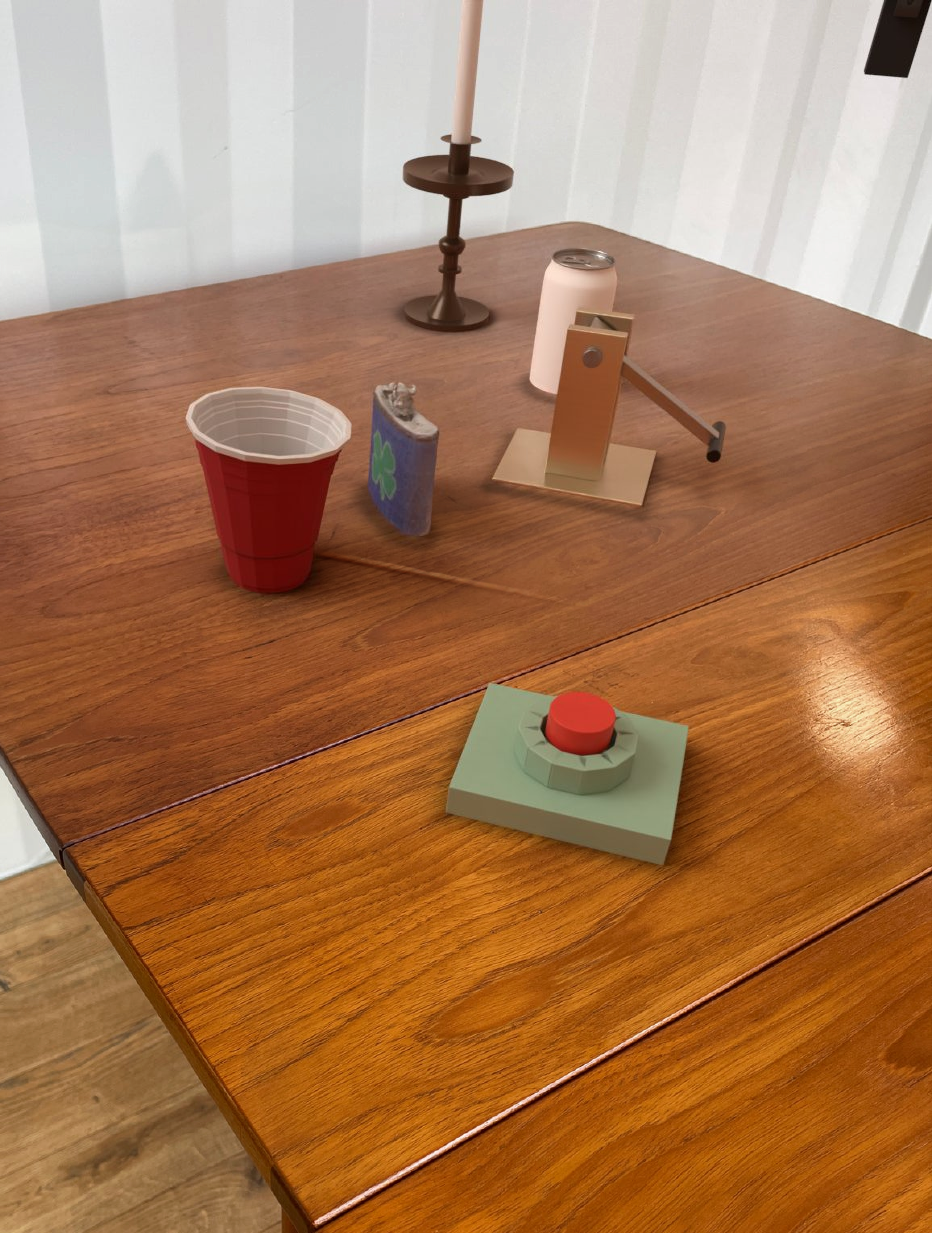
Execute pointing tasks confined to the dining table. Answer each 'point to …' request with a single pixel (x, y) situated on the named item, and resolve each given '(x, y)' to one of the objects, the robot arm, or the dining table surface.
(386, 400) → the flask
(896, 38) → the robot arm
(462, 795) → the button block
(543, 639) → the dining table surface
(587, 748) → the button
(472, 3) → the candlestick
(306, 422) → the plastic cup
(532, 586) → the dining table surface
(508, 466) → the bracket
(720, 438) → the lever
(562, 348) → the can
